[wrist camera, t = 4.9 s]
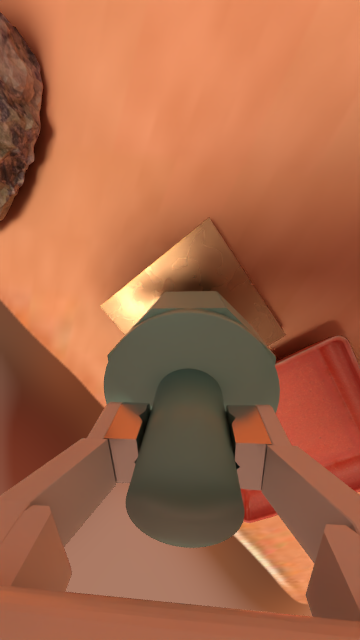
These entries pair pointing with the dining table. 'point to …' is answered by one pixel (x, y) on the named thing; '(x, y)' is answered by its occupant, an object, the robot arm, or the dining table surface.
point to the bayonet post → (194, 283)
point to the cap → (189, 413)
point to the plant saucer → (318, 413)
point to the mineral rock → (17, 111)
